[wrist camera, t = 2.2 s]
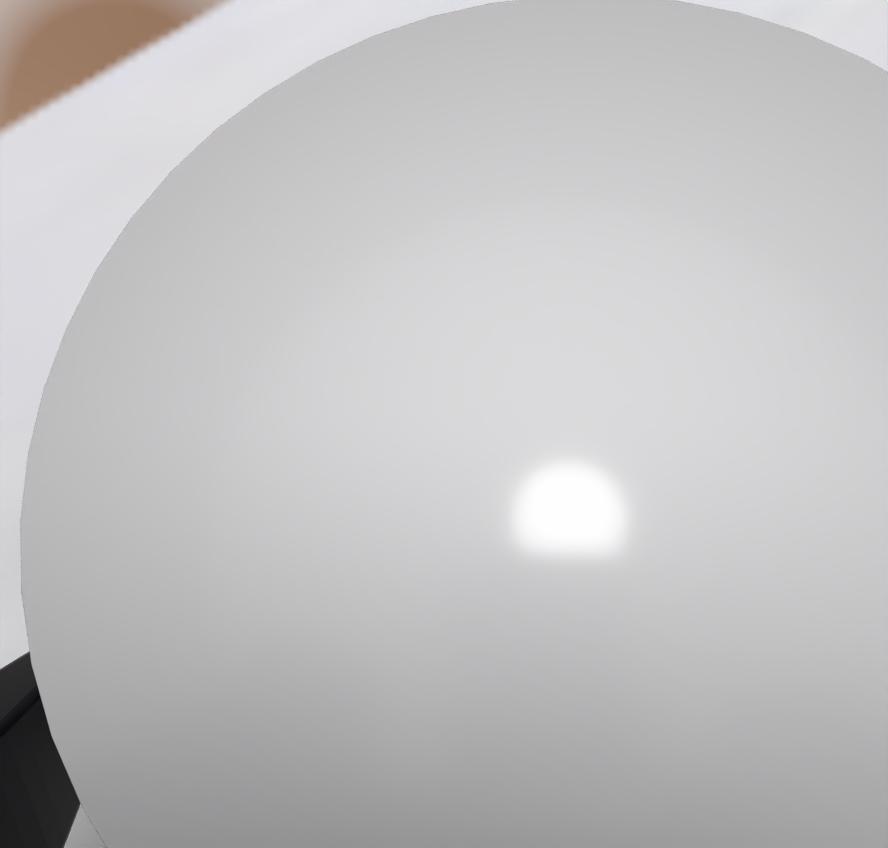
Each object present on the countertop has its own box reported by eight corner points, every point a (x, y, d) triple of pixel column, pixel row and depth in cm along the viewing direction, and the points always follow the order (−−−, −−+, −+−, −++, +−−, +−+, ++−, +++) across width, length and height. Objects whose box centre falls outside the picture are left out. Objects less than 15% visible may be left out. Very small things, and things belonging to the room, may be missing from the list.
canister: (596, 833, 16) (885, 1519, 3) (372, 686, 17) (-197, 650, 4) (717, 596, 17) (1356, 236, 4) (498, 475, 18) (390, -121, 5)
